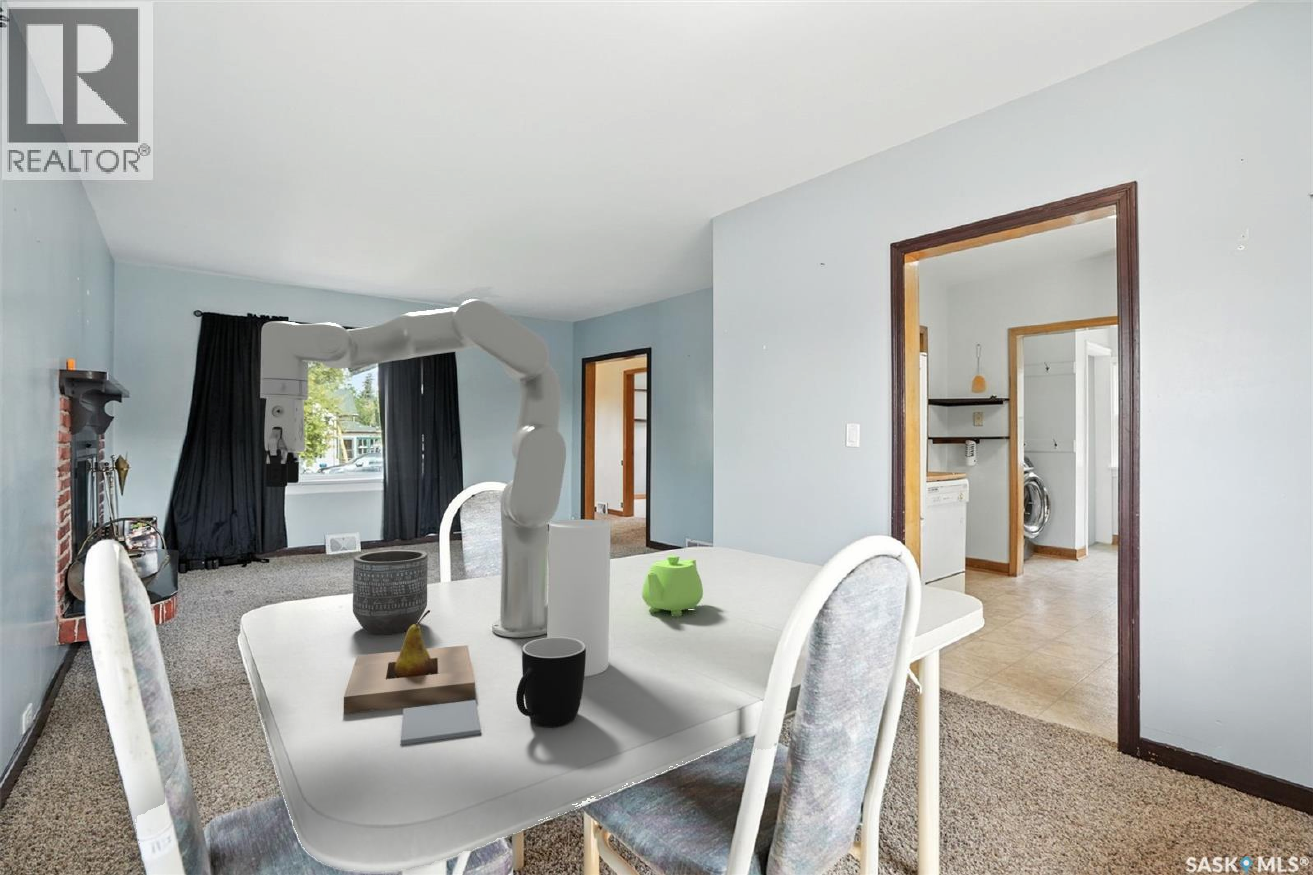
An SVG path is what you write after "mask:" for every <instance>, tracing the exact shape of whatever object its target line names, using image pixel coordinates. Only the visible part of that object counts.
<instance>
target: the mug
mask: <svg viewBox="0 0 1313 875" xmlns="http://www.w3.org/2000/svg"><path fill="white" fill-rule="evenodd" d="M585 660H586V647H585V644H584V643H583V642H581V641H579V640H576V639H572V638H565V637H550V638H547V637H543V638H542V637H541V638H539V639H534V640H531V641H528V642H527V643H525V644H524V645H523V647H522V650H521V665H522V666H521V668H522V677H521V678H520V680H519V682H518V685H517V688H516V689H517V690H516V694H515V696H516V697H515V699H516V700H515V701H516V702H515V703H516V706H517V709H518V711H519V712H520V713H521V714H522V715H524V716H525V717H529V720H530V721H531V722H532V723H533V724H534V725H536V726H538V727H544V728H557V727H563V726H566V725H568V724H570V723H572V722H573V721H574V720H575V718H576V717H577V715H578V713H579V710H580V706H581V703H582V702H581V701H582V696H583V689H584V682H585V677H584V674H585Z"/></svg>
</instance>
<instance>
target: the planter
mask: <svg viewBox="0 0 1313 875" xmlns="http://www.w3.org/2000/svg"><path fill="white" fill-rule="evenodd" d="M428 555H429V554H428V552H427V551H423V550H413V549H387V550H377V551H369V552H363V553H360V554H358V555H355V556H354V558H353V576H352V580H353V581H352V588H353V590H352V591H353V593H352V612H353V615H354V616H355V619H356V620H357V622H358V623H359V625H360V626H361V628H362V629H363V630H364V631H365V632H366V633H367V634H370V635H371V634H372V635H384V636H385V635H395V634H400V633H406V632H407V631H408V629H409V628H410V627H411V626H412V625H413V624H417V623H418V622H419V621H420V619H421V618H422V617H423V615H424V614H425V613H424V612H426V611H425V610H426V608H427V607H428V572H429V571H428V570H429V568H428V565H429V564H428V558H429V557H428Z"/></svg>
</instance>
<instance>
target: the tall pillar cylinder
mask: <svg viewBox="0 0 1313 875" xmlns="http://www.w3.org/2000/svg"><path fill="white" fill-rule="evenodd" d="M548 523H549V524H548V586H547V604H548V621H547V633H546V635H547V636H546V638H550V637H565V638H572V639H576V640H579V641H581V642H583V643H584V644H585V647H586V660H585V674H584V678H586V677H591V676H595V675H598V674H600V673H603V672H604V671H606V670H608V668H609V649H610V648H609V646H610V645H609V643H610V642H609V640H610V639H609V637H610V636H609V635H610V593H611V592H610V591H611V590H610V585H611V584H610V583H611V582H610V581H611V580H610V579H611V526H612V525H611V524H612V523H611V522H610V521H604V520H598V519H584V518H582V519H576V518H575V519H561V520H556V521H551V522H548Z"/></svg>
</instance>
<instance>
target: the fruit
mask: <svg viewBox="0 0 1313 875" xmlns="http://www.w3.org/2000/svg"><path fill="white" fill-rule="evenodd" d="M430 613H431V610H429V609H428V610H427V611H425V613H423V614H422V616H421V618H420V619H419V621H418V622H417V624H413V625H412V626H411V627H410V628H409V629H408V631H406V635H405V637H404V641H403V643H402V647H401V650H400V651H401V652H400V655H399V657H398V659H397V661H396V664H395V676H396V677H395V678H404V677H414V676H423V675H431V673H430V672H431V668H432V662H431V658H430V655H429V653H428V651H427V649H428V648H427V647H426V646H425V645H426V644H425V643H424V638H423V634H422V631H421V627H420V625H419V624H420V623H421V622H422V620H424V618H426V616H427V615H429V614H430Z"/></svg>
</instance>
